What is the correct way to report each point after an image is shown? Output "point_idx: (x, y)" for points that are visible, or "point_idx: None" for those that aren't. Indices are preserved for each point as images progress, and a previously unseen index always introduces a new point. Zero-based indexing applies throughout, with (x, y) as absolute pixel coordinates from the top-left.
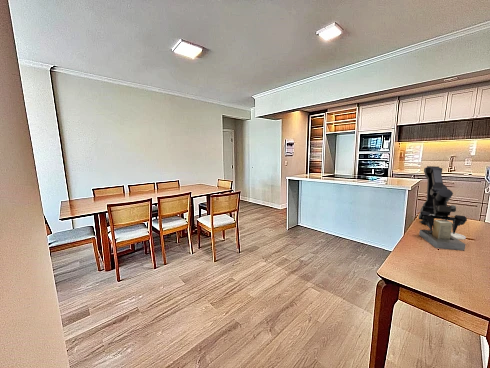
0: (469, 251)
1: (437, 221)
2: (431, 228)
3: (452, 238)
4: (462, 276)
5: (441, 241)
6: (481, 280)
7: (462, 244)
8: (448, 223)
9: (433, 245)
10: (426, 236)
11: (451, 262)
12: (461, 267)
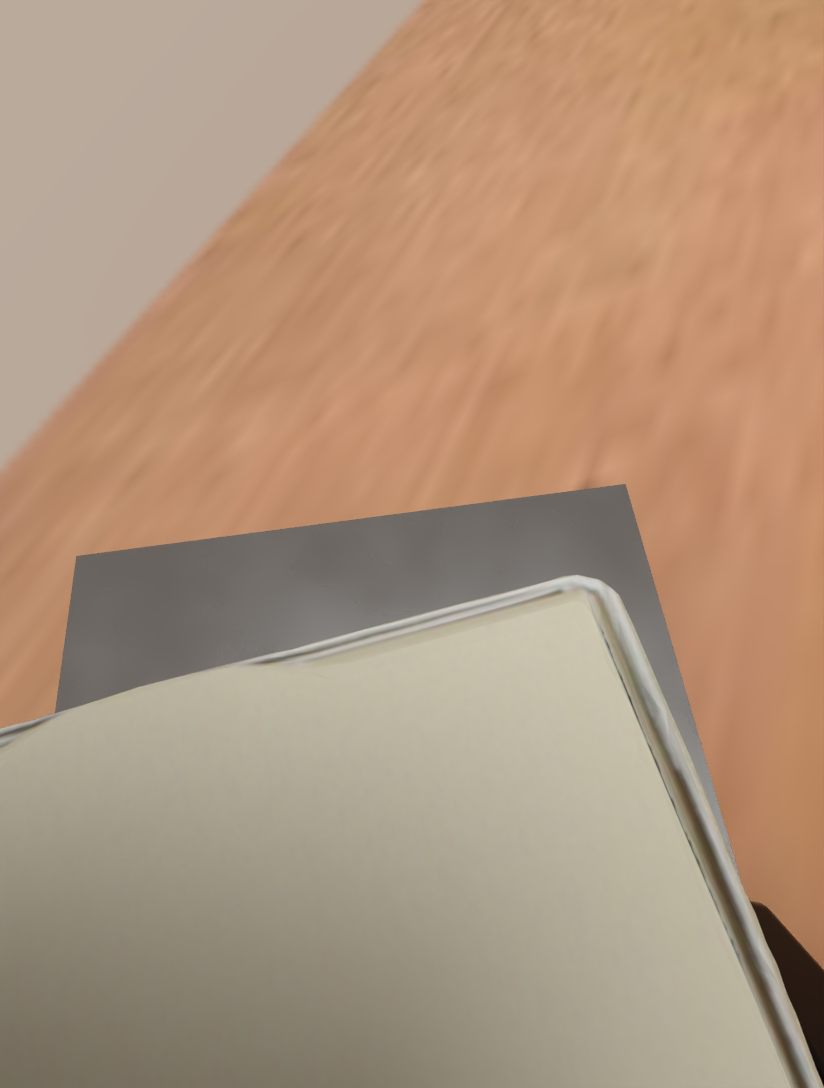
0: None
1: (710, 903)
2: (774, 930)
3: None
4: (558, 16)
5: (520, 531)
6: (432, 17)
7: (139, 553)
8: (29, 741)
9: None
10: None
11: (546, 195)
12: (488, 137)
